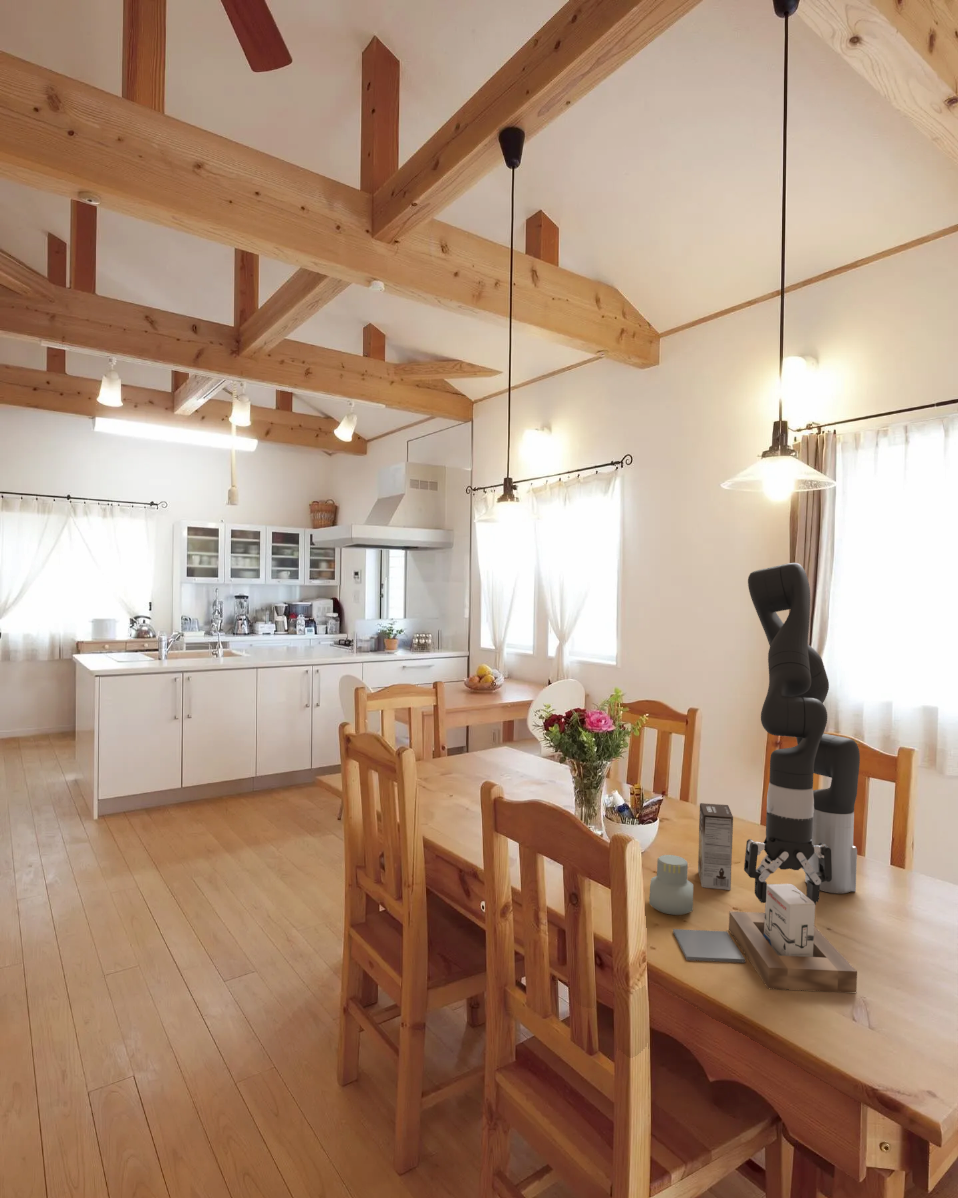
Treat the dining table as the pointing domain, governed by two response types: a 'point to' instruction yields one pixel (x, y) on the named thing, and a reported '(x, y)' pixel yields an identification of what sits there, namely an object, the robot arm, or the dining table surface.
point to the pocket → (792, 959)
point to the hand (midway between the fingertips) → (786, 902)
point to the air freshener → (671, 886)
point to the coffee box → (715, 846)
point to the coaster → (708, 945)
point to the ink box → (789, 920)
